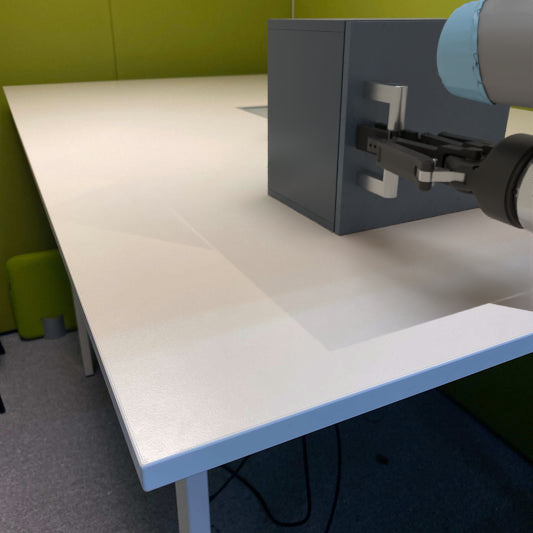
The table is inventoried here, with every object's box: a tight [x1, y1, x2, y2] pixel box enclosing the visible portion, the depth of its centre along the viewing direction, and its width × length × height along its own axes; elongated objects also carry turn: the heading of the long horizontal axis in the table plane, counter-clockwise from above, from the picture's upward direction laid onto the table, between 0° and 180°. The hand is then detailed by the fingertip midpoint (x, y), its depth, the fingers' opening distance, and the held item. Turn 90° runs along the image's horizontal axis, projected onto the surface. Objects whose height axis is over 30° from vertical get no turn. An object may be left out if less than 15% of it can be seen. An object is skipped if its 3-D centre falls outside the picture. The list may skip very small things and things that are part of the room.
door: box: [334, 21, 511, 236], centre depth 66 cm, size 7×26×24 cm, turn 117°
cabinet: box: [267, 17, 449, 234], centre depth 76 cm, size 18×26×24 cm
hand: (368, 135), depth 63 cm, fingers closed on door, 2 cm apart
